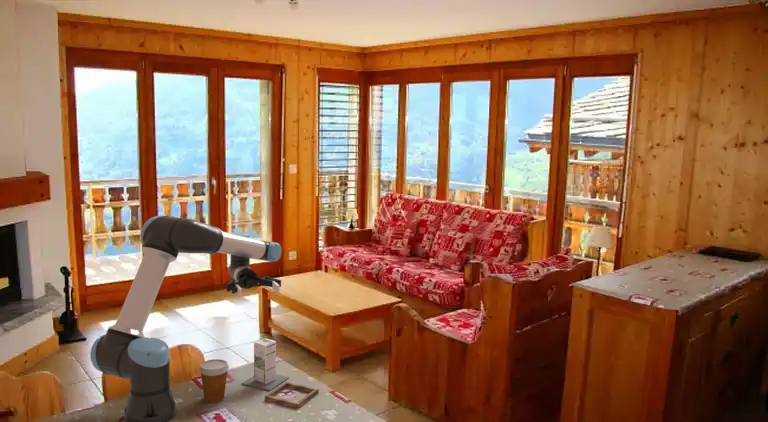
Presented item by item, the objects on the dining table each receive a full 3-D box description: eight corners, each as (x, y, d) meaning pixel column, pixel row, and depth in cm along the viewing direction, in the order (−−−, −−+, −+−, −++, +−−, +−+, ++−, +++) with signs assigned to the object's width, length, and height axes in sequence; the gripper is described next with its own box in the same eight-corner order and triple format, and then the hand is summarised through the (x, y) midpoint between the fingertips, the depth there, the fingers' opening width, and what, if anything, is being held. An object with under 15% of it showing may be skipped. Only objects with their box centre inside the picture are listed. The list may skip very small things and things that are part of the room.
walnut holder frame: (264, 400, 196) (264, 396, 196) (286, 385, 208) (286, 381, 208) (298, 408, 191) (298, 404, 191) (318, 393, 203) (318, 388, 203)
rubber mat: (241, 384, 208) (241, 383, 208) (261, 372, 219) (261, 371, 219) (269, 391, 203) (269, 389, 203) (288, 378, 214) (288, 377, 214)
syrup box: (276, 379, 212) (276, 340, 210) (265, 385, 207) (265, 345, 205) (265, 375, 215) (265, 337, 213) (253, 380, 210) (253, 341, 208)
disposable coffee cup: (221, 406, 191) (220, 371, 189) (194, 403, 193) (193, 368, 191) (234, 394, 200) (233, 360, 199) (208, 391, 202) (207, 357, 200)
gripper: (276, 283, 236) (293, 297, 217) (213, 289, 225) (224, 304, 206) (277, 265, 235) (293, 277, 216) (212, 270, 224) (224, 283, 205)
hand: (259, 290), depth 211 cm, fingers open, 13 cm apart
